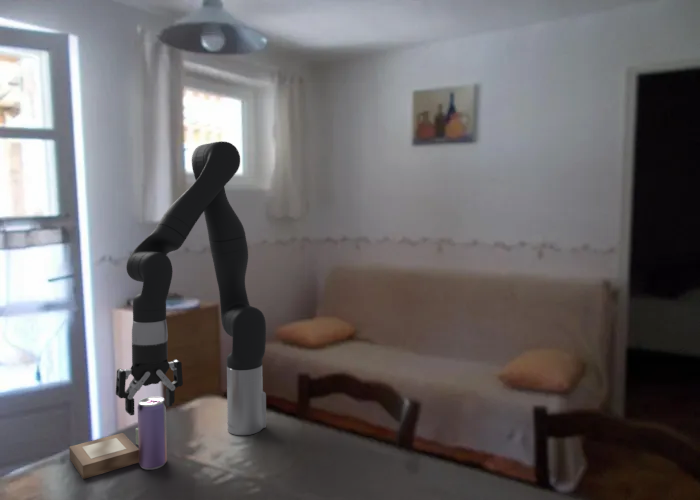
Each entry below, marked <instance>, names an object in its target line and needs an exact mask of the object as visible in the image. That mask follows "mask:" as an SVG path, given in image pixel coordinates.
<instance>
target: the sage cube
mask: <svg viewBox="0 0 700 500" xmlns="http://www.w3.org/2000/svg"><path fill="white" fill-rule="evenodd" d="M134 430H135V432H134V433H135V445H137V446H139V441H138V427H136V428H135V429H134Z"/></svg>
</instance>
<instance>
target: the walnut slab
mask: <svg viewBox="0 0 700 500" xmlns="http://www.w3.org/2000/svg"><path fill="white" fill-rule="evenodd" d="M68 450H69V451H68V452H69V460H70V462H71V463H72V464H73V466H74V467H75V469H76V470H77V472H78V474H79V475H80V476H81V478H82V479H83V480H85V479H86V480H87V479H89V478H92V477H95V476H99V475H102V474H105V473H108V472H112V471H115V470H118V469H119V470H120V469H122V468H126V467H129V466H132V465H135V464H139V447H138V446H136V444H134V443H133V442H132V440H131V439H129V437H127V435H126V434H125V433H123V432H121V433H117V434H112V435H109V436H105V437H101V438H97V439H94V440H89V441H86V442H82V443H79V444H75V445H70V446H69V449H68Z"/></svg>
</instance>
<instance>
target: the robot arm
mask: <svg viewBox="0 0 700 500" xmlns="http://www.w3.org/2000/svg"><path fill="white" fill-rule="evenodd" d="M239 152H240V151H239V150H238V149H237V147H236V146H235V145H233V143H231V142H227V141H214V142H210V143H205V144H201V145H198V146H197V147H195V149H194V150H193V152H192V154H191V168H192V171H193V172H192V173H193V176H194V179H195V181H194V182H193V183H192V184H191V185H190V187H189V188H188V189H187V190H185V191H184V192H183V193H182V194H180V196H178V198H177V199H176V200H175V201H174V202H173V203H172V204H171V205H170V206H169V207H168V208H167V209H166V211H165V213H164V214H163V216H162V217H161V218H160V220H159V221H158V223H157V224H156V225H155V228H153V229H154V230H153V231H152V232H151V233H150V234H149V235H148V236H146V237H145V238H144V239H143V241H142V240H141V242H140V243H139V244H138V245H137V246H136V247H135V248H134V249H133V250H132V252H131V254H130V256H129V257H128V259H127V262H126V272H127V275H128V276H129V278H130V279H132V280H134V281H136V282H141V283H142V289H141V293H138V294H136V295H135V296H134V297H133V301H132V326H131V367H130V368H127V369H122V368H118V369H117V370H116V377H115V378H116V380H115V381H116V383H115V395H116V396H118V398H119V399H124V405H125V406H124V407H125V412H126V413H128V415H129V416H134V415H135V398H134V396H135V395H136V393H137V392H138V391H140V390H141V388H142V387H143V386H144V387H148V386H150V385H157V384H159V383H160V382H161V383H162V384H163V385H164V386H165V387H166V389H165V404H166V407H168V408H170V407H171V408H172V407H173V404H174V403H175V399H176V398H175V396H176V395H175V392H176V389H177V388H178V387H182V386H183V384H184V381H183V367H182V365H183V364H182V361H180V360H178V359H176V358H175V359H173V360H172V361H168V358H169V356H168V354H169V352H168V343H169V342H168V340H169V339H168V338H169V333H168V324H167V298H168V296H169V292H170V288H171V285H172V284H171V283H172V278H173V266H172V261H171V260H170V258H169V256H168V254H170V253H171V252H174V251H177V250H179V249H180V248H181V247H182V245H183V244H184V242H185V241H186V239H187V238H188V236H190V235H189V234H190V233H191V231H193V228H194V226H195V225H196V223H197V221H198V220H199V219H200V217H201V216H202V215H203V214H204V218H205V224H206V228H207V234H208V235H207V236H208V242H209V247H210V251H211V252H210V253H211V257H212V262H213V267H214V273H215V277H216V282H217V287H218V293H219V303H220V317H221V318H220V319H221V325H222V328H223V330H224V331H225V333H226V334H227V335H229V336H230V337H231V338H232V348H231V352H230V353H229V354H228V355H227V356H226V389H227V391H226V397H227V398H226V399H227V401H226V402H227V405H226V406H227V431H228V433H230V434H231V435H235V436H250V435H253V434H257V433H259V432H261V430H263V429H264V428H266V427H267V394H266V392H265V391H264V390H263V389H264V388H263V386H264V385H263V384H264V381H263V378H264V377H263V359H264V356H265V353H266V339H267V338H266V337H267V335H266V334H267V323H266V319H265V315H264V313H263V312H262V311H261V310H260V309H259V308H257V307H254V306H251V304H250V302H249V297H248V294H247V288H246V275H247V274H246V273H247V268H248V261H249V248H248V243H247V236H246V231H245V228H244V225H243V224H242V222H241V220H240V218H239V216H238V215H237V213H236V212H235V210H234V208H232V205H231V203H230V202H229V199H228V197H227V193H226V188H225V186H226V185H228V183H229V182H230V181H231V180H232V178H233V177H234V176H235V175H236V173H238V170H239V168H240V167H241V156H240V153H239ZM169 370H171V371H172V373H173V374H172V375H173V376H172V377H173V381H171V380H170V379H169V378H168V376H167V375H166V374H167V372H168V371H169ZM130 375H131V376H132V377H133V378H132V380H131V381H130V383H129V386H128V387H127V389H126V381H127V380H128V378H129V376H130Z"/></svg>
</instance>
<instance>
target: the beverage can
mask: <svg viewBox="0 0 700 500" xmlns="http://www.w3.org/2000/svg"><path fill="white" fill-rule="evenodd" d="M137 404H138V405H137V428H138V441H139V445H138V449H139V463H138V465H139V466H140V468H142V469H143V470H146V471H150V470H151V471H152V470H157V469H159V468H162V467H164V465H165V464H166V463H167V462H168V461H167V460H168V455H167V454H168V452H167V451H168V450H167V449H168V448H167V412H166V411H167V409H166V407H167V405H166V398H164V397H163V396H155V395H154V396H148V397H144V398H142V399H139V400H138V403H137Z"/></svg>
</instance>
